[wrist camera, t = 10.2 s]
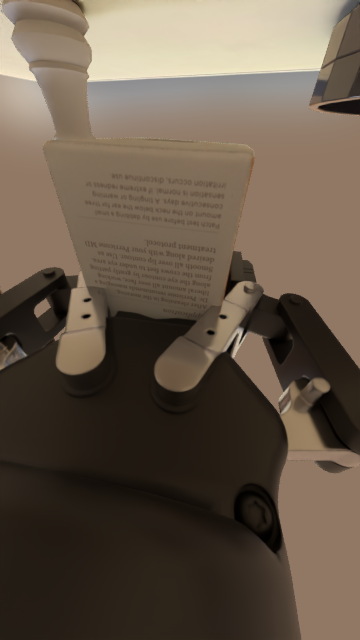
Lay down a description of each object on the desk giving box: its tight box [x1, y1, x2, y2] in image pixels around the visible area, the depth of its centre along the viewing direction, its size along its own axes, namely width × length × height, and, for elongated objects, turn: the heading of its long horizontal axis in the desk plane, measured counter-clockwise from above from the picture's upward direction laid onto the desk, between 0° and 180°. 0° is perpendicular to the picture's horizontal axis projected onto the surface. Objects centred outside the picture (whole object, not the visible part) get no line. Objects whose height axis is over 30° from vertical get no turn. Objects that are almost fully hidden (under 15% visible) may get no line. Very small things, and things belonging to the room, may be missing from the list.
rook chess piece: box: [1, 0, 96, 140], centre depth 14 cm, size 4×4×8 cm
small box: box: [43, 138, 254, 321], centre depth 11 cm, size 8×6×10 cm
